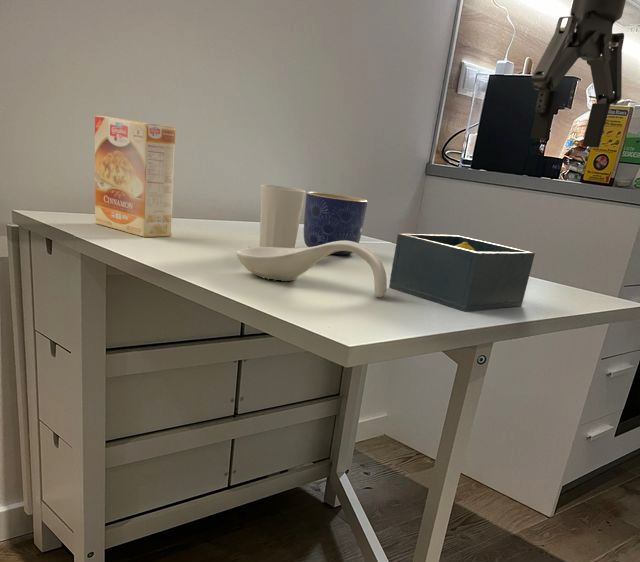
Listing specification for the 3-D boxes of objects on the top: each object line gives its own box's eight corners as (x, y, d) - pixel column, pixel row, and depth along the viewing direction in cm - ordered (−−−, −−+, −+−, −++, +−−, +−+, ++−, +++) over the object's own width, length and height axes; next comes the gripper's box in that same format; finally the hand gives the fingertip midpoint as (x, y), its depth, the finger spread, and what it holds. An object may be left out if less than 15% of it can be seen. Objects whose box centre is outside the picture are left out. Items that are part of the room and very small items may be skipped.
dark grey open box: (521, 306, 109) (535, 253, 105) (465, 311, 99) (478, 253, 95) (446, 284, 119) (457, 235, 116) (388, 287, 109) (397, 233, 105)
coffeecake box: (93, 223, 130) (93, 114, 123) (123, 223, 136) (124, 119, 128) (143, 237, 122) (145, 122, 115) (172, 236, 128) (177, 126, 120)
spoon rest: (223, 275, 100) (226, 226, 97) (250, 265, 110) (254, 221, 107) (376, 304, 95) (385, 253, 92) (389, 291, 106) (397, 245, 103)
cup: (275, 261, 118) (282, 190, 113) (245, 252, 122) (251, 183, 118) (306, 260, 123) (314, 192, 119) (276, 251, 128) (283, 186, 123)
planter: (287, 246, 137) (293, 190, 132) (328, 245, 145) (335, 193, 141) (331, 258, 129) (339, 199, 125) (371, 256, 138) (380, 202, 134)
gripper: (625, 8, 108) (590, 148, 116) (528, -30, 94) (496, 132, 102) (669, 4, 103) (629, 151, 111) (573, -38, 89) (535, 135, 97)
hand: (565, 142), depth 107 cm, fingers open, 13 cm apart
